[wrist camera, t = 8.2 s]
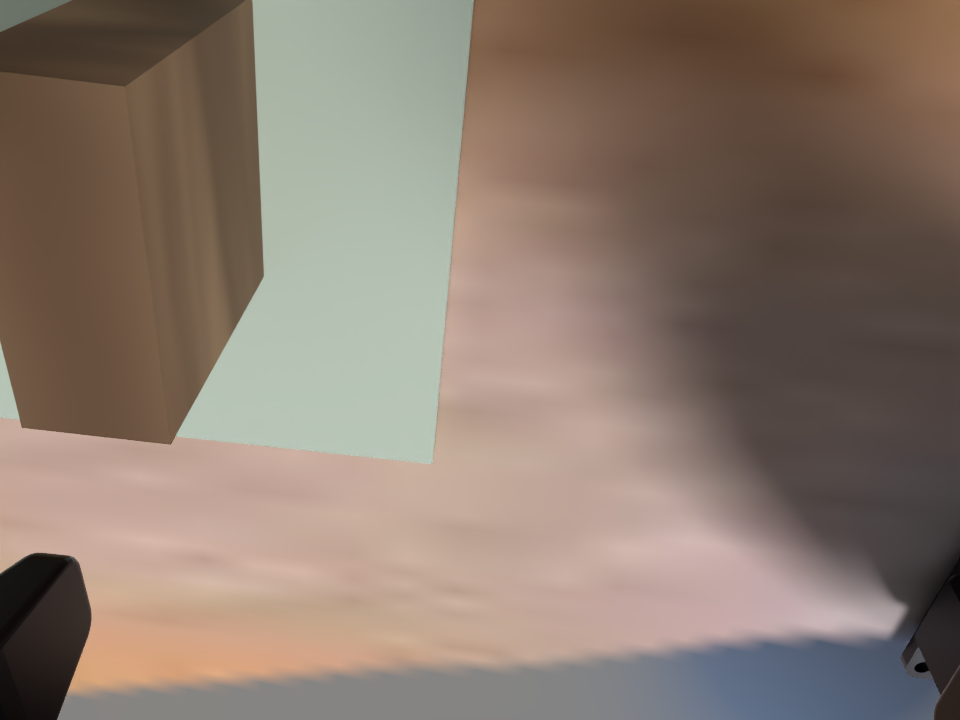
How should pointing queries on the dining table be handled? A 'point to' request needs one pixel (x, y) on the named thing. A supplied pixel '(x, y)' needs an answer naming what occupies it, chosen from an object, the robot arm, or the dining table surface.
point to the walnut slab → (125, 209)
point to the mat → (341, 229)
